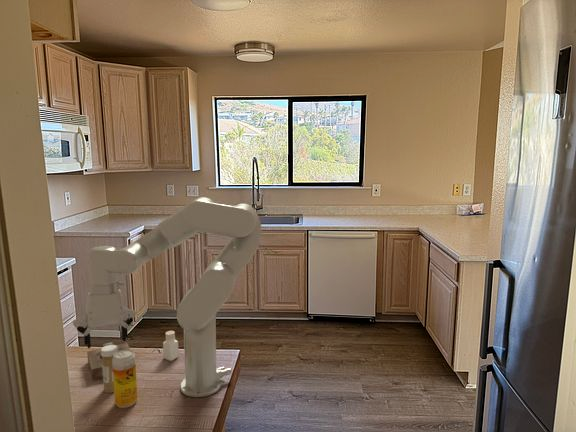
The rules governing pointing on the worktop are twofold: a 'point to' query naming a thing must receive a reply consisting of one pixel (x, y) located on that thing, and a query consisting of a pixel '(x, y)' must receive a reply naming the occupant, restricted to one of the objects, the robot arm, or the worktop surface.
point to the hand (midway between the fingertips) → (106, 342)
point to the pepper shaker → (170, 346)
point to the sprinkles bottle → (108, 367)
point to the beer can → (124, 378)
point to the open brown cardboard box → (100, 360)
